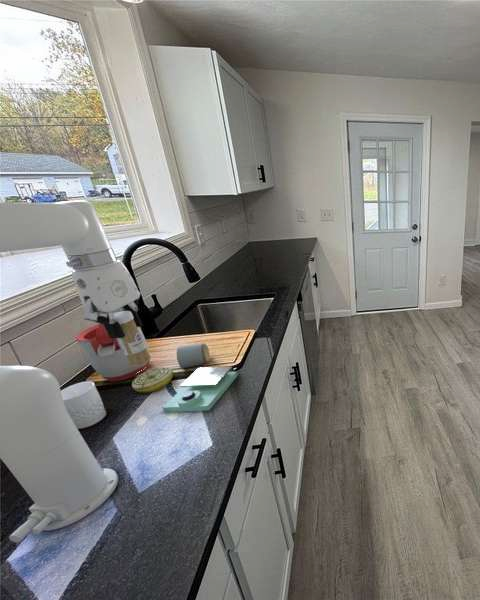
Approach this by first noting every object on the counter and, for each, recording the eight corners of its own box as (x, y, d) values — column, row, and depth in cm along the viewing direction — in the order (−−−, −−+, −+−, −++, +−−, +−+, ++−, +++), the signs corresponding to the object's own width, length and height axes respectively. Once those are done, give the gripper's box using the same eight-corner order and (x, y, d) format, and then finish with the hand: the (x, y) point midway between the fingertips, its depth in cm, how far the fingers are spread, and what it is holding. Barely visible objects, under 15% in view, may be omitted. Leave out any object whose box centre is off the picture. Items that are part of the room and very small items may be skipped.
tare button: (190, 400, 87) (189, 396, 87) (181, 401, 87) (180, 397, 87) (196, 394, 90) (195, 390, 89) (187, 394, 90) (186, 391, 89)
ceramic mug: (208, 366, 108) (201, 346, 105) (181, 372, 105) (173, 353, 102) (212, 352, 117) (206, 333, 114) (187, 357, 114) (181, 339, 111)
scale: (208, 411, 87) (205, 402, 86) (163, 412, 87) (159, 404, 86) (237, 375, 102) (235, 367, 101) (199, 377, 102) (196, 369, 101)
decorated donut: (167, 371, 107) (163, 361, 105) (180, 380, 101) (176, 371, 99) (130, 387, 99) (125, 377, 98) (142, 399, 93) (137, 389, 92)
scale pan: (216, 385, 92) (216, 384, 92) (180, 387, 93) (180, 385, 92) (232, 368, 101) (231, 366, 100) (199, 369, 101) (198, 367, 101)
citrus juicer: (90, 395, 97) (59, 339, 89) (106, 368, 111) (80, 317, 103) (151, 378, 103) (128, 324, 96) (159, 354, 118) (139, 305, 110)
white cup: (86, 432, 82) (68, 402, 78) (63, 429, 84) (44, 399, 80) (116, 411, 89) (101, 382, 85) (95, 408, 91) (79, 380, 87)
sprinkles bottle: (149, 363, 78) (127, 315, 73) (126, 368, 77) (102, 320, 71) (153, 354, 82) (133, 308, 77) (132, 359, 81) (110, 312, 75)
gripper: (72, 270, 61) (112, 350, 68) (139, 249, 77) (166, 315, 84) (36, 272, 61) (79, 351, 69) (110, 251, 77) (139, 317, 84)
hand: (126, 331), depth 76 cm, fingers closed on sprinkles bottle, 4 cm apart
